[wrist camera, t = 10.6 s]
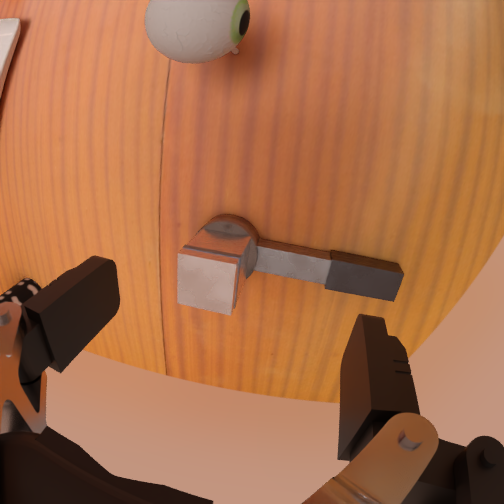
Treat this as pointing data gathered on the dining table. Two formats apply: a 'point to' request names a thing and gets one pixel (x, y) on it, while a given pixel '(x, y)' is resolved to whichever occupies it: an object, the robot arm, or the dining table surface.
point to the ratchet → (315, 263)
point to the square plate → (7, 45)
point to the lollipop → (196, 28)
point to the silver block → (213, 270)
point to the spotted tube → (20, 292)
